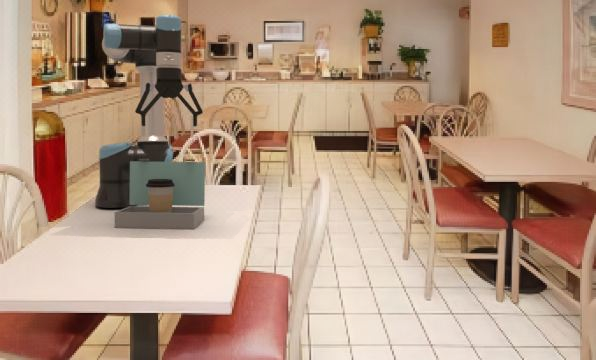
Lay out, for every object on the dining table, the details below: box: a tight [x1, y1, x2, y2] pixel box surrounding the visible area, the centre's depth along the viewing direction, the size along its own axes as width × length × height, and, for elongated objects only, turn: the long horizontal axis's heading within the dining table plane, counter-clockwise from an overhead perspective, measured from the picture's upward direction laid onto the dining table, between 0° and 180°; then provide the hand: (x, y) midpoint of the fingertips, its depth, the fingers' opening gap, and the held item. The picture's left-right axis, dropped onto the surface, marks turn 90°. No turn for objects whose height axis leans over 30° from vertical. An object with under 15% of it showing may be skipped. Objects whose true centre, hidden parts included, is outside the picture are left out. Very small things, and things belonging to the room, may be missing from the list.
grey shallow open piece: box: [114, 205, 205, 230], centre depth 207 cm, size 15×26×5 cm, turn 86°
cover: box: [130, 158, 206, 207], centre depth 213 cm, size 16×26×2 cm
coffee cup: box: [146, 179, 175, 213], centre depth 206 cm, size 9×9×15 cm
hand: (169, 137), depth 191 cm, fingers open, 13 cm apart
